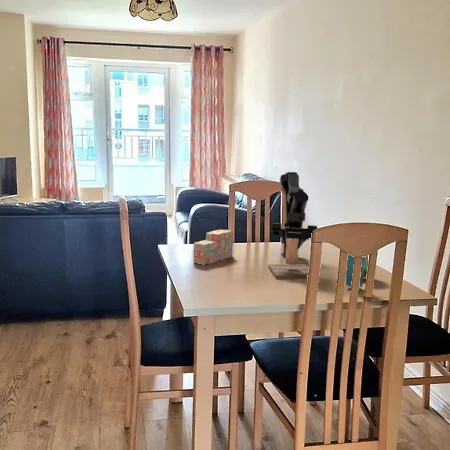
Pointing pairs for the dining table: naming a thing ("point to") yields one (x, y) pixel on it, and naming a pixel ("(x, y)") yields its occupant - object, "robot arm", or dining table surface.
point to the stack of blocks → (214, 247)
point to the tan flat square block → (289, 271)
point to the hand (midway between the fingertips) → (291, 247)
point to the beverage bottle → (350, 271)
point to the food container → (365, 267)
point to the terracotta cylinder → (292, 251)
